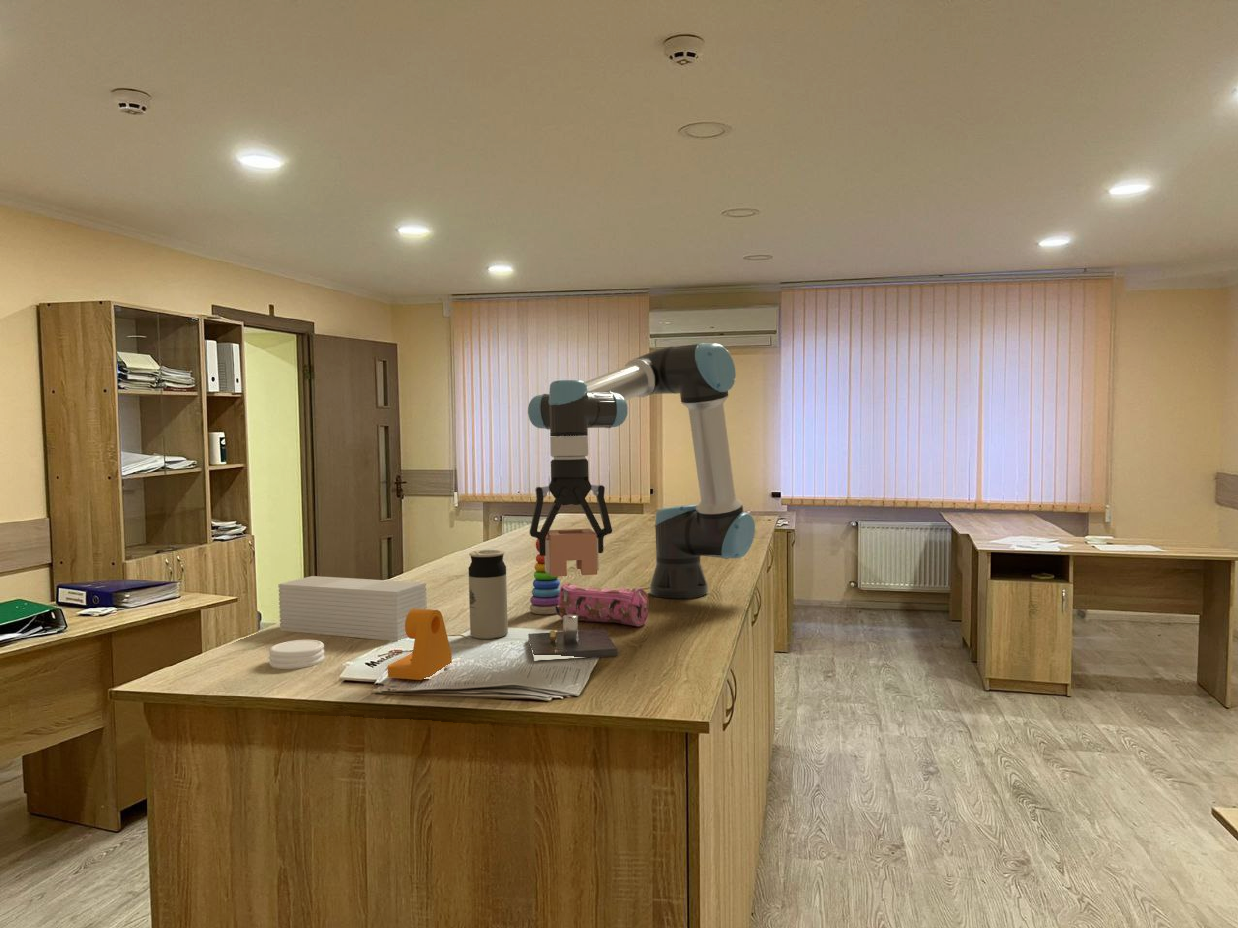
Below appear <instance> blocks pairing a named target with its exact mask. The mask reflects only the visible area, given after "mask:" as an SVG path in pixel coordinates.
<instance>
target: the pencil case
mask: <svg viewBox="0 0 1238 928" xmlns="http://www.w3.org/2000/svg"><path fill="white" fill-rule="evenodd" d="M559 588H560V592H559V607H557V606H556V607H555V608H556V613H555V614H556V615H557V616H559V617H560V618H561V619H562V620H563V616H564V615H577V616H578V622H579V621H580V622H581V621H582V622H593V623H594V622H595V623H596V622H597V623H598V622H599V623H617V624H621V625H626V626H632V627H638V628H639V627H642V626H643V625H644V624H645V623H646V621H647V620H648V615H649V607H650V606H649V596H648V593H647V592H646V591H645V590H644V589H643V588H642V587H634V588H633V589H632V588H619V589H618V588H617V589H615V588H601V587H600V588H596V587H595V588H591V587H582V586H580V585H579V586H578V585H575V584H573V583H571V582H567V581H566V582H564V583H562V585H560V587H559Z"/></svg>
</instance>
